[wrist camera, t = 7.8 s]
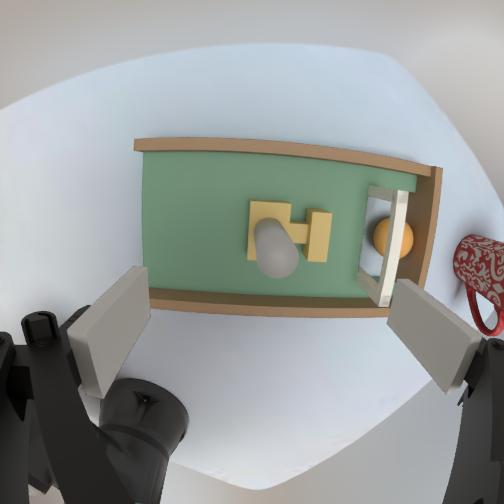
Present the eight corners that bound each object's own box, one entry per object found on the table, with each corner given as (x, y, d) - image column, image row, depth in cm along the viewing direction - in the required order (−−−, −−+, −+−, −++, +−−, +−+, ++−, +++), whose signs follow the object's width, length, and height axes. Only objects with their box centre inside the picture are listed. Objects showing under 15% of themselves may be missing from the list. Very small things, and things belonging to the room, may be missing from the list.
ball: (396, 262, 34) (368, 264, 33) (389, 224, 35) (361, 223, 33) (424, 253, 30) (398, 255, 28) (416, 212, 31) (389, 210, 29)
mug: (461, 218, 34) (528, 241, 20) (493, 238, 34) (552, 263, 21) (429, 299, 37) (483, 345, 24) (464, 310, 38) (514, 350, 25)
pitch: (150, 289, 35) (124, 323, 27) (149, 142, 31) (118, 135, 22) (394, 300, 36) (426, 331, 28) (415, 166, 32) (459, 169, 23)
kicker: (247, 254, 32) (247, 296, 21) (250, 199, 30) (252, 214, 20) (319, 258, 32) (350, 299, 22) (325, 204, 31) (363, 222, 20)
